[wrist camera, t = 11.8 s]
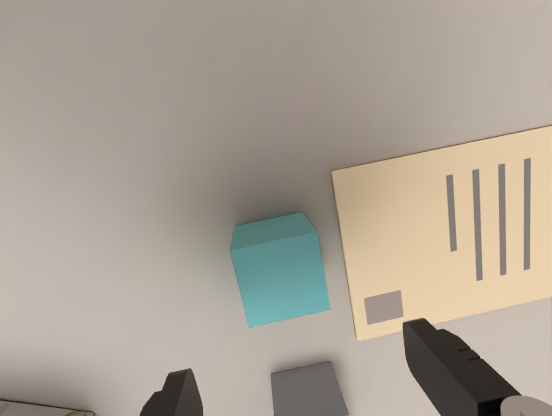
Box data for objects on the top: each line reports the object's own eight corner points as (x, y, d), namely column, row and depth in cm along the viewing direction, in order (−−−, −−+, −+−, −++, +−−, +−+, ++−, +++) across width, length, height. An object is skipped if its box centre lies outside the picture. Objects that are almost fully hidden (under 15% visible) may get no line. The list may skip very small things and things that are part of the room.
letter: (330, 171, 21) (332, 171, 20) (568, 121, 21) (573, 121, 21) (356, 338, 24) (357, 341, 23) (562, 291, 24) (566, 293, 24)
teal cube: (235, 225, 21) (229, 250, 16) (302, 211, 21) (317, 231, 16) (249, 287, 22) (249, 327, 17) (313, 273, 22) (330, 309, 17)
